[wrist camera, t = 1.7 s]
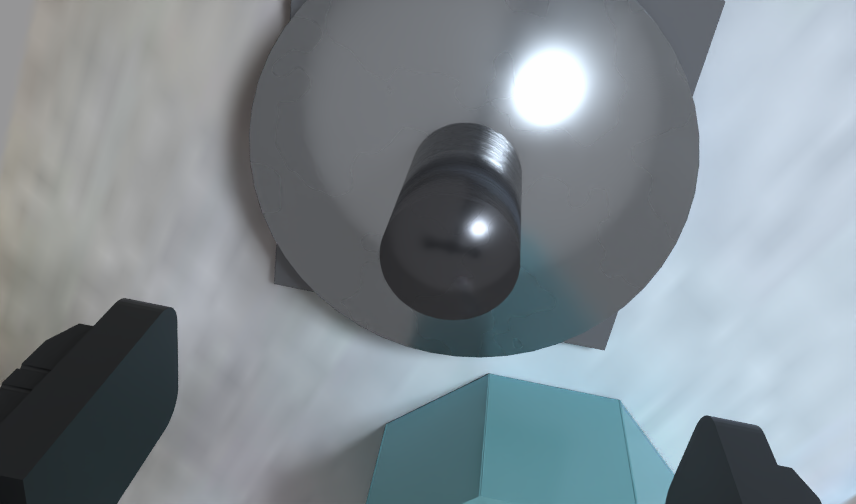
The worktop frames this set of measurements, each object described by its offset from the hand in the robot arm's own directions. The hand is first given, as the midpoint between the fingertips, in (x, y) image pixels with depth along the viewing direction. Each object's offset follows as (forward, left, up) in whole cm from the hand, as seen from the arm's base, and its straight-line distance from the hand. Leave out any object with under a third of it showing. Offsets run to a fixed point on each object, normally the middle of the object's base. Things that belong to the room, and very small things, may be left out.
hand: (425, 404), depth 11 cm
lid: (0, 0, -9) cm, 9 cm away
